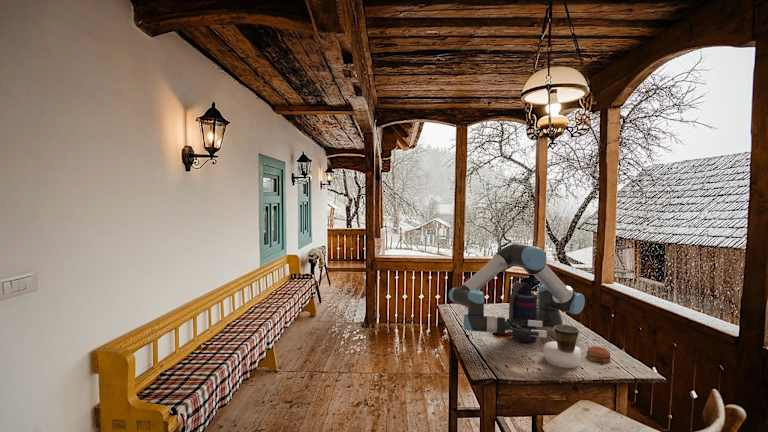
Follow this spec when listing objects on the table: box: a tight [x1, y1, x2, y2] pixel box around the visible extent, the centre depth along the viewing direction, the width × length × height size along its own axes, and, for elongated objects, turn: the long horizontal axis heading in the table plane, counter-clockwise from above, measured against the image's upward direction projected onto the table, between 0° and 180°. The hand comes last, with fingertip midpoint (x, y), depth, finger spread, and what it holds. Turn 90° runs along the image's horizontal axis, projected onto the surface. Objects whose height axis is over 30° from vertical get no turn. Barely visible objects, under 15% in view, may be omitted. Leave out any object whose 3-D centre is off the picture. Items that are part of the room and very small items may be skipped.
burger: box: [586, 346, 612, 363], centre depth 173 cm, size 10×9×5 cm
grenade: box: [508, 281, 538, 344], centre depth 195 cm, size 14×12×30 cm
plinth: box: [544, 340, 582, 369], centre depth 170 cm, size 15×15×6 cm
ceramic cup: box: [549, 324, 580, 353], centre depth 167 cm, size 13×10×10 cm
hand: (544, 328), depth 172 cm, fingers open, 13 cm apart
